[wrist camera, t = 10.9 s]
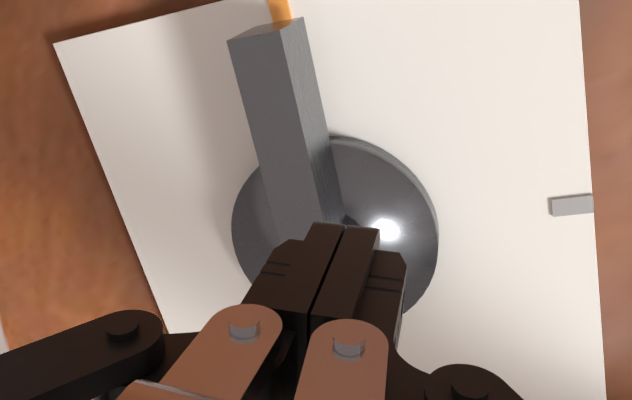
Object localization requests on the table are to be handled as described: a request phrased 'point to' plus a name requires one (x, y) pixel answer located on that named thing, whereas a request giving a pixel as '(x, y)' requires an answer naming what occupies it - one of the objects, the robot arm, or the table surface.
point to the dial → (317, 165)
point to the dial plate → (395, 138)
